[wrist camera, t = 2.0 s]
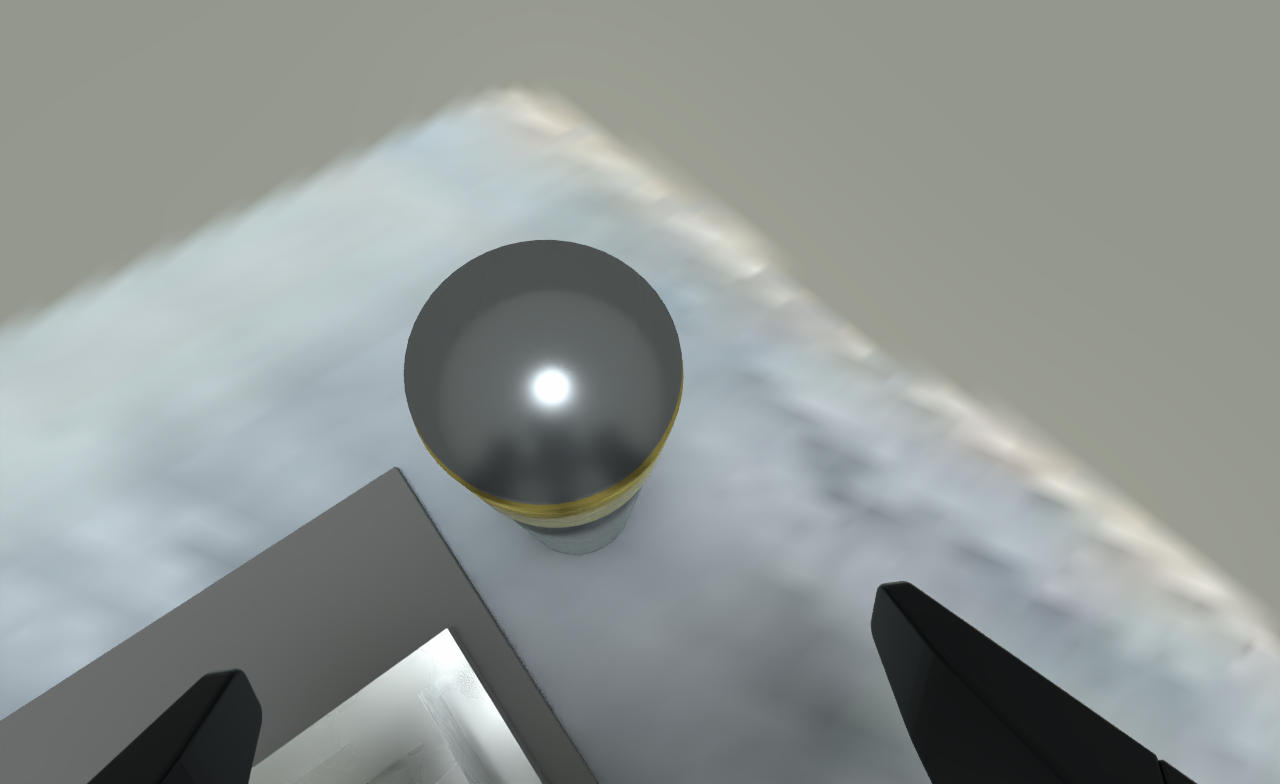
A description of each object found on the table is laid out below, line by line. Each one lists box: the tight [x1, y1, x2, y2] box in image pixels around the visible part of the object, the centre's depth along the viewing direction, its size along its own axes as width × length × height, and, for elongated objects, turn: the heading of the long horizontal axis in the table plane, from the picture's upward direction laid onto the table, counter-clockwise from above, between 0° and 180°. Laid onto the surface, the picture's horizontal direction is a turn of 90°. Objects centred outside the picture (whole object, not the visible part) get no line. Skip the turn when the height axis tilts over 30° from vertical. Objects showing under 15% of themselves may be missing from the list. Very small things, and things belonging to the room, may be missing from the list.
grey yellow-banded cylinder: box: [404, 240, 683, 555], centre depth 14 cm, size 4×4×13 cm
